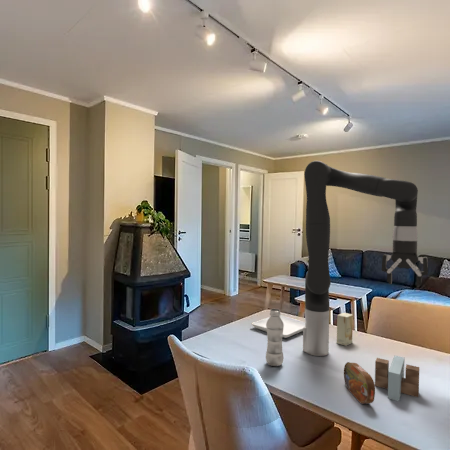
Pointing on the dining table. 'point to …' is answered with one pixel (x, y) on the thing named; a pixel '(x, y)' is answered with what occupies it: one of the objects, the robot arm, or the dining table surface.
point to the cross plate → (395, 377)
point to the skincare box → (344, 328)
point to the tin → (359, 383)
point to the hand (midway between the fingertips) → (403, 285)
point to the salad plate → (289, 323)
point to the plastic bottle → (274, 338)
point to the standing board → (407, 384)
